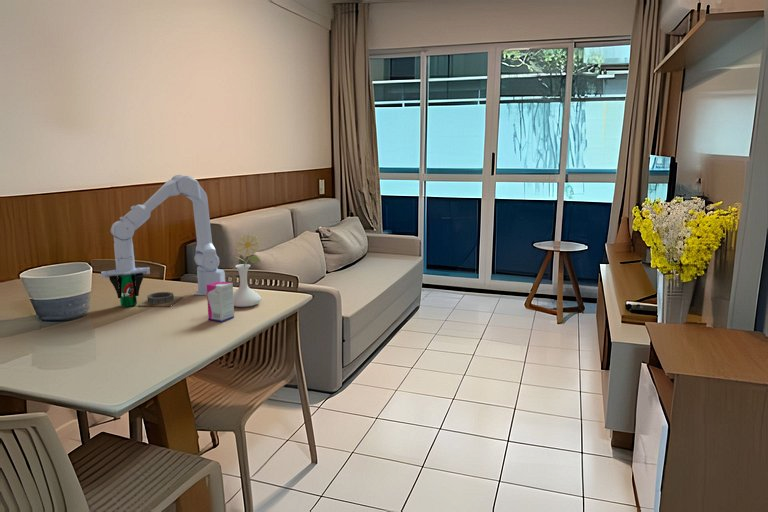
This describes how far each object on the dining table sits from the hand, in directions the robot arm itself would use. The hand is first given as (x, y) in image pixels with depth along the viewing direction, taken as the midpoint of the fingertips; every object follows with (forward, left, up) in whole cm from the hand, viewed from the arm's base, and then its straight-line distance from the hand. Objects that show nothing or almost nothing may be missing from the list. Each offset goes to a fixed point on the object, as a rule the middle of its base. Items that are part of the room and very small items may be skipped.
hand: (128, 296), depth 178 cm
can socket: (-9, -4, -3) cm, 11 cm away
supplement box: (-35, +13, -3) cm, 38 cm away
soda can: (0, 0, -3) cm, 3 cm away
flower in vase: (-39, -2, -3) cm, 40 cm away
